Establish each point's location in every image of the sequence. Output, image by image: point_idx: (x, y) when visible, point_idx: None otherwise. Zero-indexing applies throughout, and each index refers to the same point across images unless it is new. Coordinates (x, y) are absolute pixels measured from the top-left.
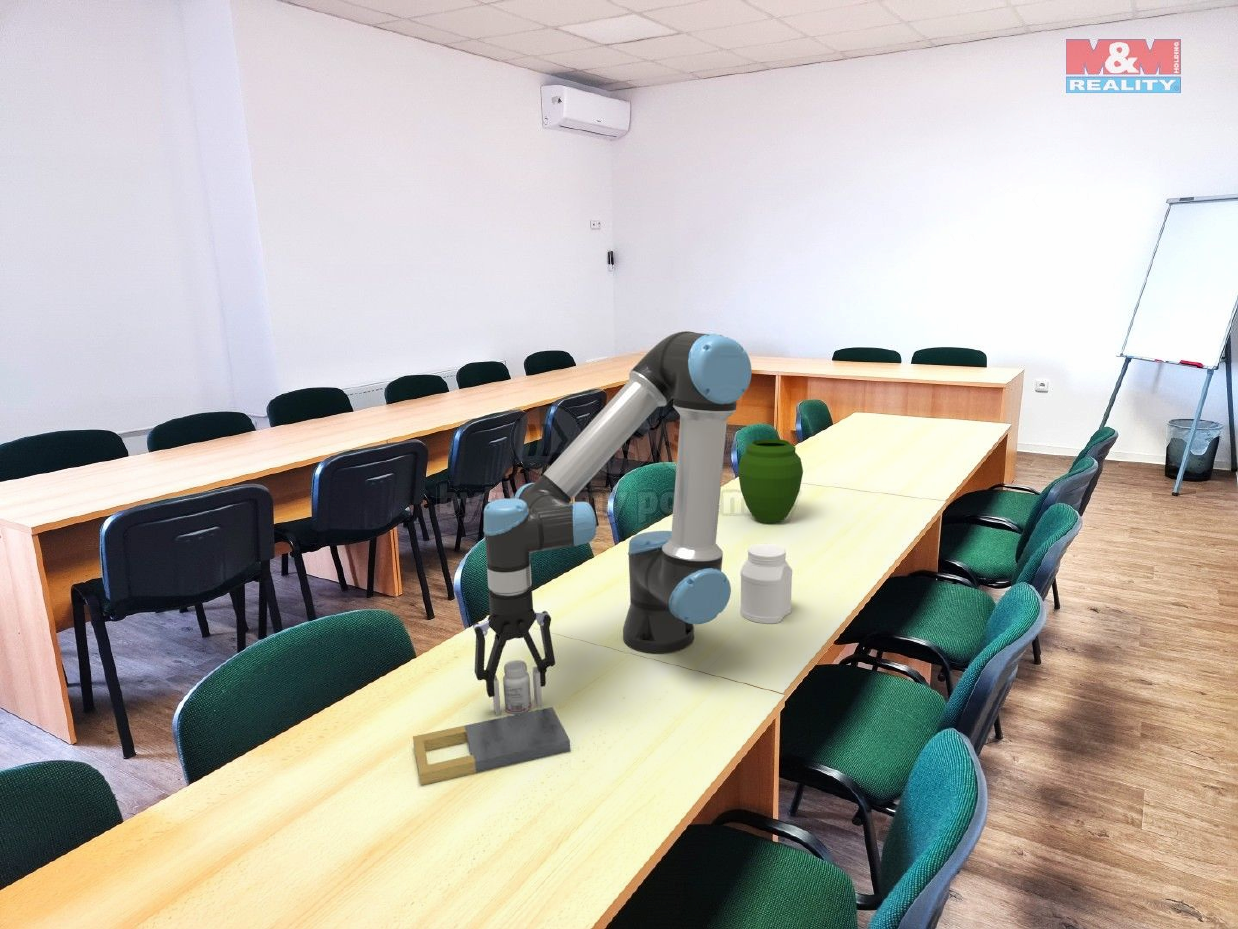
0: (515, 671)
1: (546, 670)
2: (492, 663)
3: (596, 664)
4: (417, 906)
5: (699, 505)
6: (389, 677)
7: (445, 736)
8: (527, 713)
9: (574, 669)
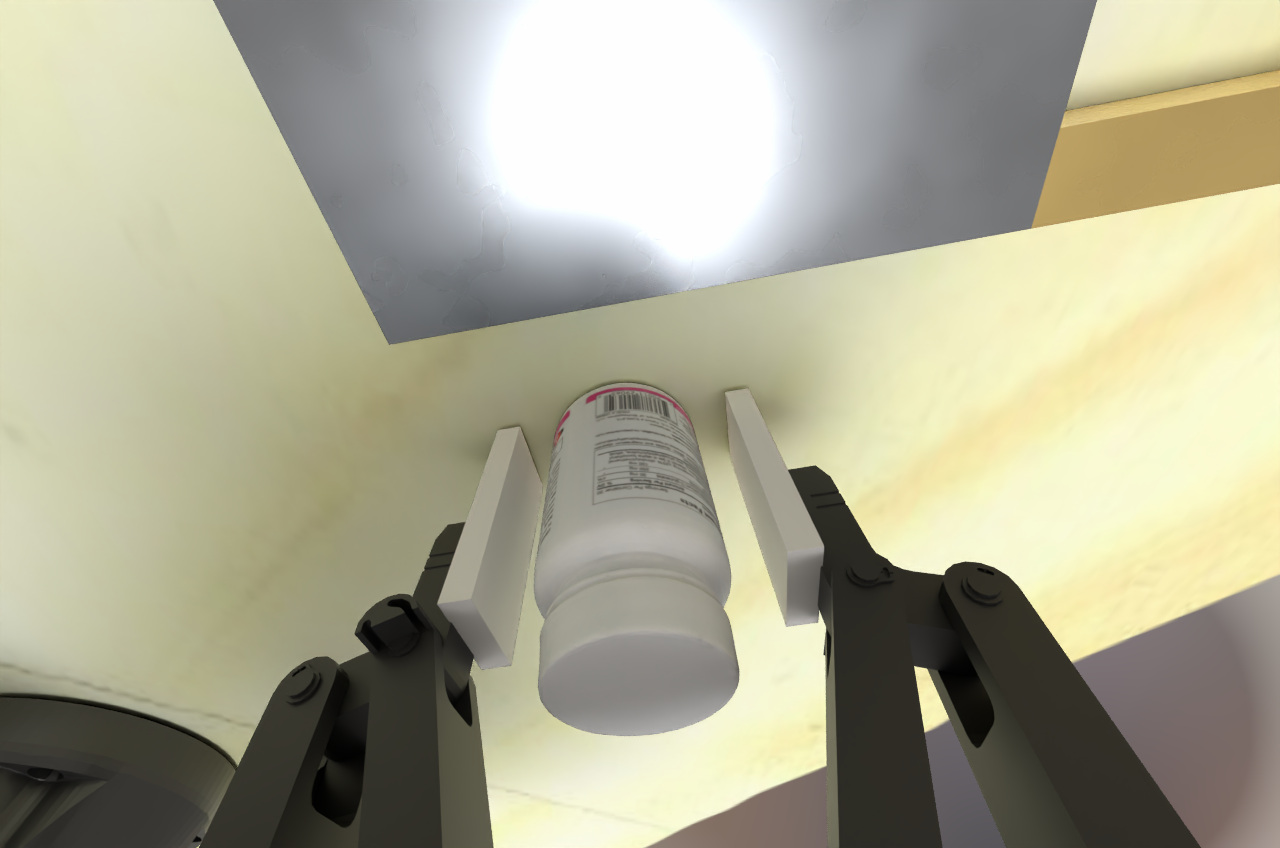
0: (643, 625)
1: (362, 620)
2: (917, 740)
3: (292, 665)
4: None
5: None
6: None
7: (1228, 94)
8: (565, 295)
9: None
